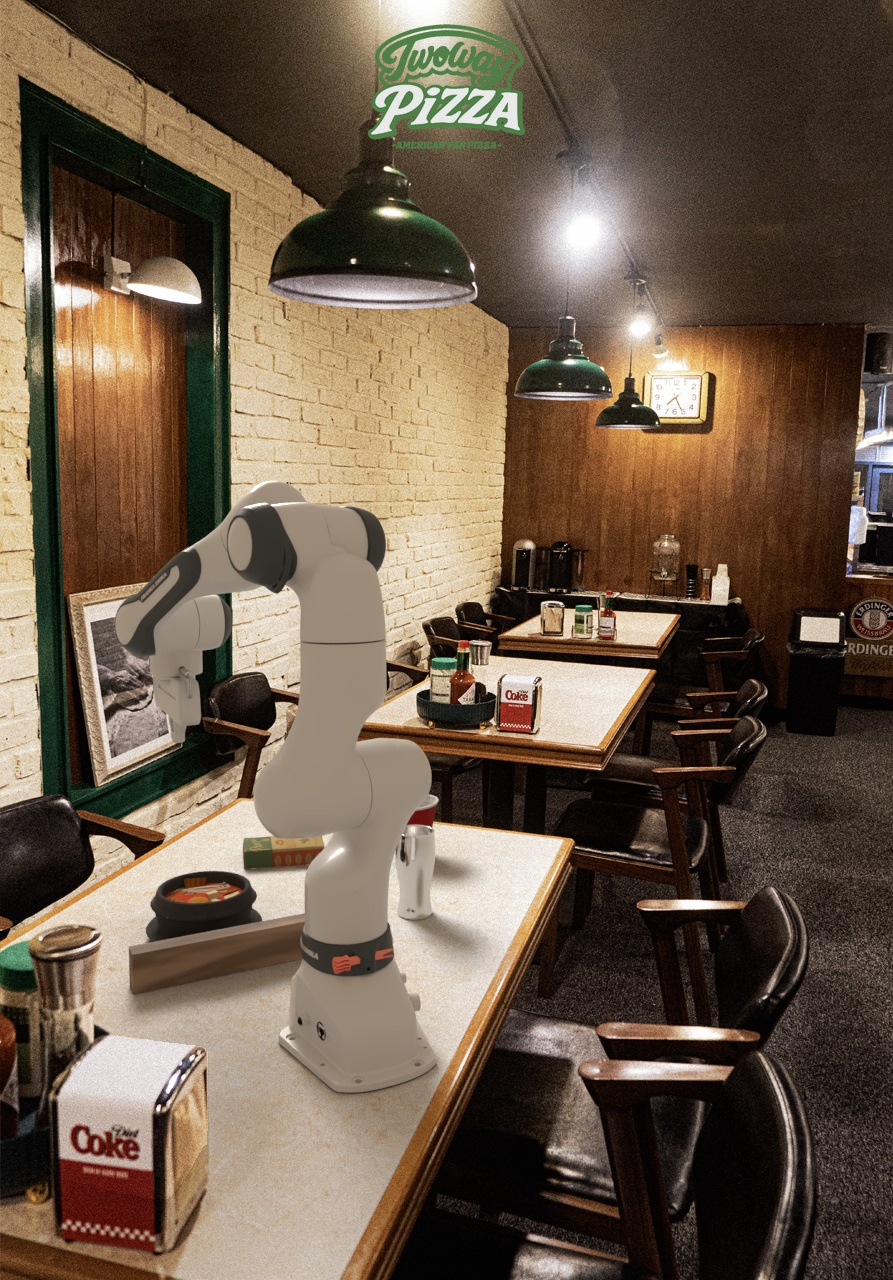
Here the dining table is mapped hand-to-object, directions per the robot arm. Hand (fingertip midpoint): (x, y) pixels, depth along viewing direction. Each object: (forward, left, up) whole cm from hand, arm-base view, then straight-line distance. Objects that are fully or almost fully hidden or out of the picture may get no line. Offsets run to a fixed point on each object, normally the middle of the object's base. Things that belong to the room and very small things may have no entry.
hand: (178, 741), depth 169 cm
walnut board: (-31, 0, -29) cm, 42 cm away
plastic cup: (+2, -47, -29) cm, 56 cm away
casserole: (-17, 0, -29) cm, 34 cm away
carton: (+12, -23, -30) cm, 39 cm away
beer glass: (-24, -35, -29) cm, 52 cm away
